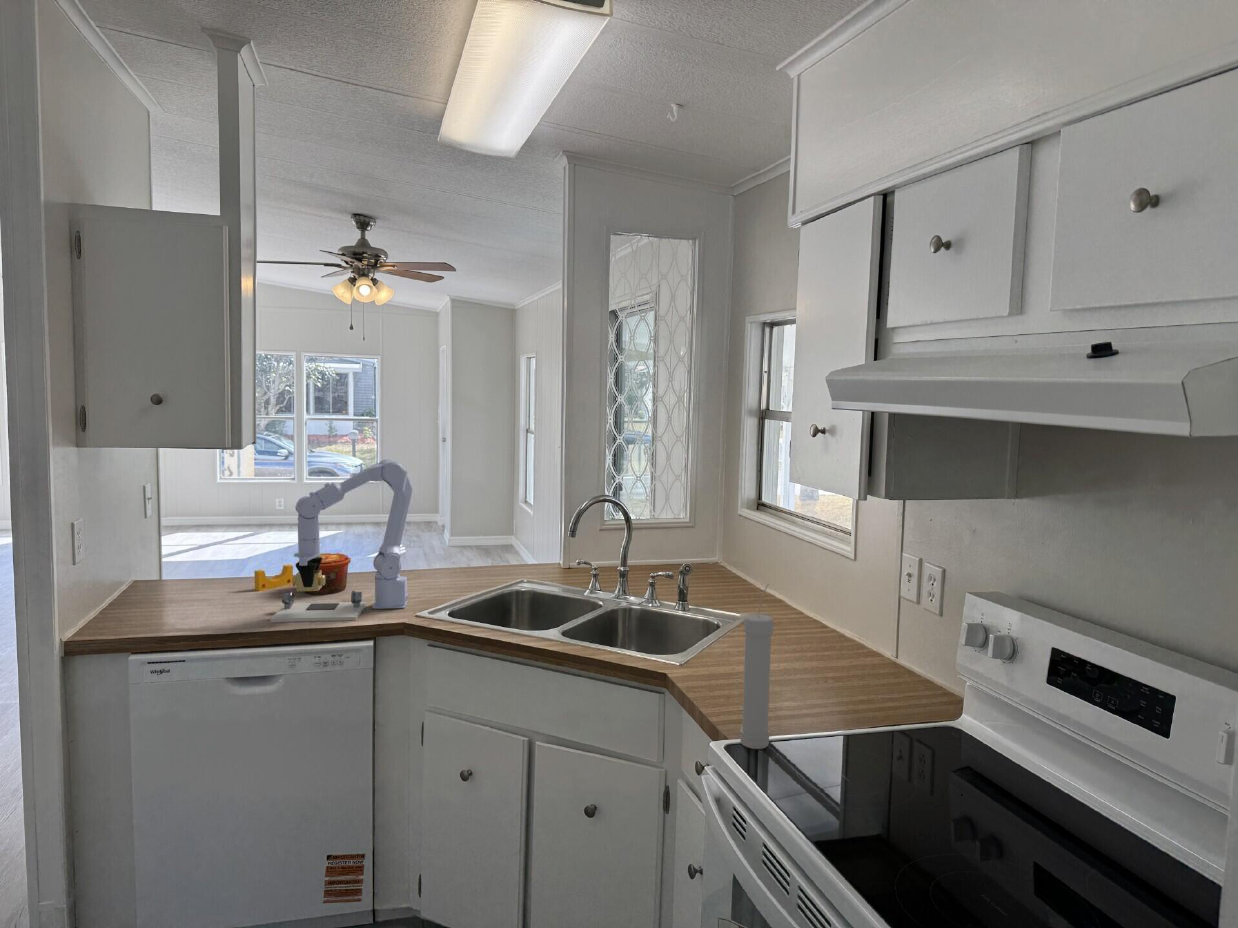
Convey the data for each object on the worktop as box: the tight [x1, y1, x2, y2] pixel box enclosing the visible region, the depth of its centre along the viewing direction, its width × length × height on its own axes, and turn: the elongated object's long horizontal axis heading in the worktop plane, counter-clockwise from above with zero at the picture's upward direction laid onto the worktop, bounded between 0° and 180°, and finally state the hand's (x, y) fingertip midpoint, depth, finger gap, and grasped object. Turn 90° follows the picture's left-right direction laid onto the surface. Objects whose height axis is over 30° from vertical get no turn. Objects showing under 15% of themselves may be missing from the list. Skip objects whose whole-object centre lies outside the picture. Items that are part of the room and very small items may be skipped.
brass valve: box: [292, 570, 325, 592], centre depth 227 cm, size 8×4×5 cm, turn 98°
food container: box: [297, 552, 351, 595], centre depth 256 cm, size 16×16×11 cm
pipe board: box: [270, 590, 367, 623], centre depth 229 cm, size 23×16×6 cm
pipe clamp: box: [253, 564, 294, 592], centre depth 260 cm, size 12×4×6 cm, turn 145°
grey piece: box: [739, 583, 774, 750], centre depth 147 cm, size 6×6×30 cm
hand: (310, 584), depth 227 cm, fingers closed on brass valve, 4 cm apart
